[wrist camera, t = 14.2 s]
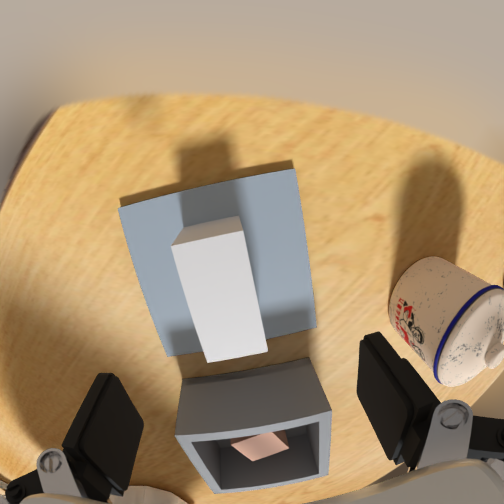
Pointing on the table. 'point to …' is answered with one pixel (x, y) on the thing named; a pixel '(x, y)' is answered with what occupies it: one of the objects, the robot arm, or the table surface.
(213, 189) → the lid
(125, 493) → the white tiered tall piece
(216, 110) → the table surface
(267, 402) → the storage box
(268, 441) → the block
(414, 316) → the teacup with lid
